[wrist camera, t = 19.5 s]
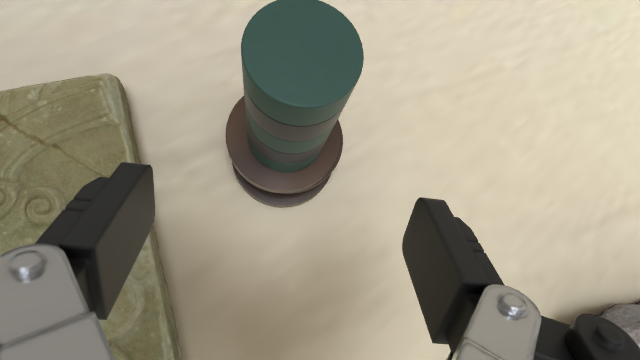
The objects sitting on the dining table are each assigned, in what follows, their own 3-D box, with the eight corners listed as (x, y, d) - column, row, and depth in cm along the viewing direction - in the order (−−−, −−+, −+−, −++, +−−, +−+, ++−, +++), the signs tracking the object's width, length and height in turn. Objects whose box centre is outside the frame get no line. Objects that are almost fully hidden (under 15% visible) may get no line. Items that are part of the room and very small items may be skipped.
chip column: (230, 137, 24) (213, 49, 15) (282, 86, 26) (297, -26, 16) (289, 188, 24) (311, 132, 15) (338, 134, 26) (387, 50, 16)
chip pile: (203, 154, 28) (194, 136, 24) (276, 82, 30) (279, 54, 26) (287, 228, 28) (292, 221, 24) (355, 150, 30) (370, 131, 26)
